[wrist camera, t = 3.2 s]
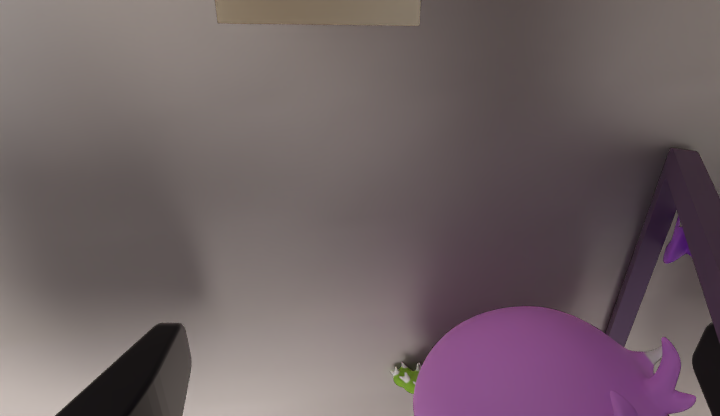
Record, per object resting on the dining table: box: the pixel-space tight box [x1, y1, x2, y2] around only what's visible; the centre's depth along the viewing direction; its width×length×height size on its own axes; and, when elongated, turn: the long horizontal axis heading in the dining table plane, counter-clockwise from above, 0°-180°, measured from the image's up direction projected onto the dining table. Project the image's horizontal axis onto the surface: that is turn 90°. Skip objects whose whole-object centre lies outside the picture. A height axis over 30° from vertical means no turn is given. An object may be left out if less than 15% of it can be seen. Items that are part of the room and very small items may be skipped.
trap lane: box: [215, 0, 421, 26], centre depth 9 cm, size 15×24×2 cm, turn 179°
